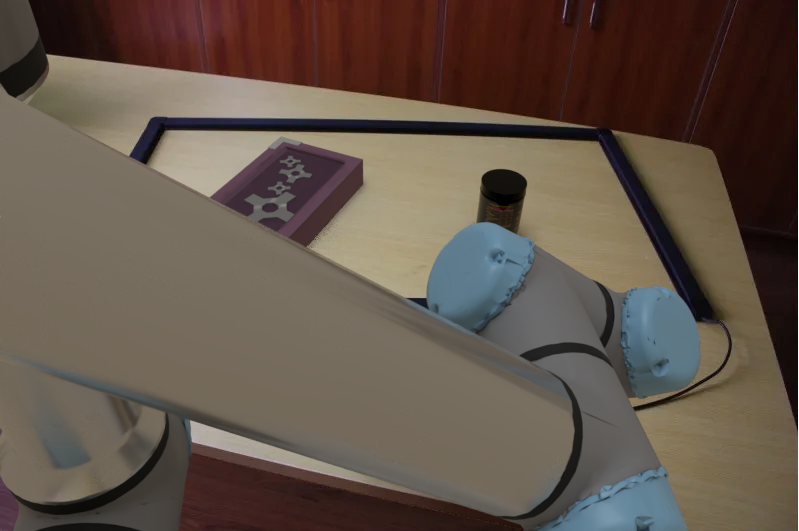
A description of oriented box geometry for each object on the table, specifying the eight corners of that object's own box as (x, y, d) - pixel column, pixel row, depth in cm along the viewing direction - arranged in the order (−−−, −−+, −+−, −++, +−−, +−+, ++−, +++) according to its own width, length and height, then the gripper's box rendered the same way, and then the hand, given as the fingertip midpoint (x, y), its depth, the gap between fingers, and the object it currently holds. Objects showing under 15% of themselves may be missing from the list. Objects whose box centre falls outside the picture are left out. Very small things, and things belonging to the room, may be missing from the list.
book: (283, 160, 116) (280, 136, 113) (363, 183, 111) (363, 158, 108) (194, 240, 98) (188, 213, 95) (284, 270, 93) (281, 244, 90)
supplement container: (513, 223, 103) (523, 168, 97) (520, 250, 98) (531, 194, 91) (471, 223, 103) (478, 168, 96) (476, 250, 98) (484, 194, 91)
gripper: (486, 475, 51) (334, 475, 68) (580, 336, 62) (429, 367, 80) (433, 401, 49) (292, 421, 67) (540, 273, 61) (395, 319, 78)
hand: (367, 392), depth 73 cm, fingers closed on supplement bottle, 5 cm apart
